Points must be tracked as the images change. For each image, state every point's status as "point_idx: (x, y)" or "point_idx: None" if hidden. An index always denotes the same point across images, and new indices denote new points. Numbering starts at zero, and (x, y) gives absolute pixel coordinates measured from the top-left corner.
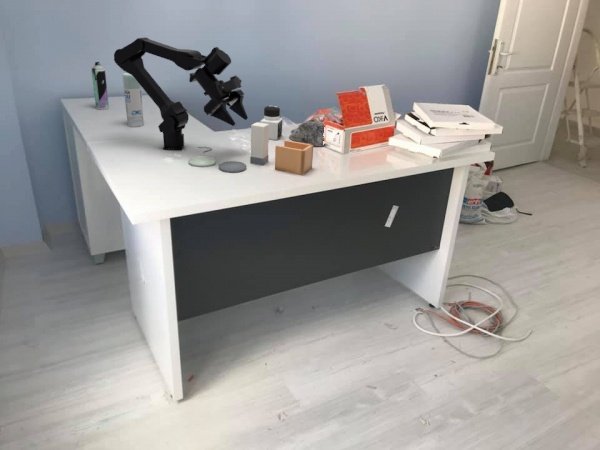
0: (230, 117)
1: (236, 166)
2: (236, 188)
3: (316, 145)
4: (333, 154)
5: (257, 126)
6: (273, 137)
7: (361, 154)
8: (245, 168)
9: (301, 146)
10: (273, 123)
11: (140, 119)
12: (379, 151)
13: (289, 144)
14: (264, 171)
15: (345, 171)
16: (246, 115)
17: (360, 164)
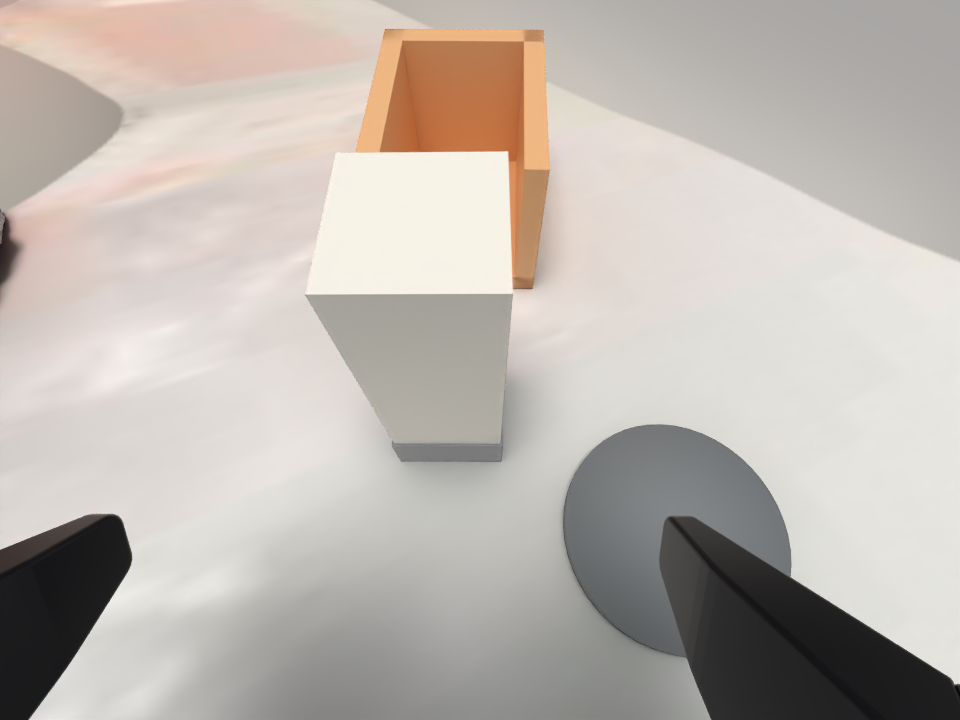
0: (834, 620)
1: (671, 491)
2: (934, 344)
3: (1, 231)
4: (147, 144)
5: (509, 218)
6: None
7: (119, 65)
8: (646, 427)
9: (399, 93)
10: None
11: None
12: (56, 29)
13: None
14: (591, 324)
15: None
16: (43, 541)
17: (271, 45)
